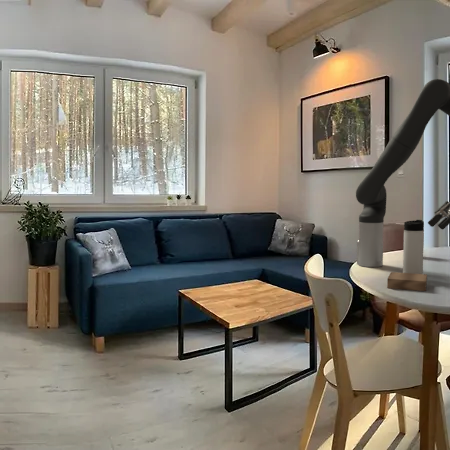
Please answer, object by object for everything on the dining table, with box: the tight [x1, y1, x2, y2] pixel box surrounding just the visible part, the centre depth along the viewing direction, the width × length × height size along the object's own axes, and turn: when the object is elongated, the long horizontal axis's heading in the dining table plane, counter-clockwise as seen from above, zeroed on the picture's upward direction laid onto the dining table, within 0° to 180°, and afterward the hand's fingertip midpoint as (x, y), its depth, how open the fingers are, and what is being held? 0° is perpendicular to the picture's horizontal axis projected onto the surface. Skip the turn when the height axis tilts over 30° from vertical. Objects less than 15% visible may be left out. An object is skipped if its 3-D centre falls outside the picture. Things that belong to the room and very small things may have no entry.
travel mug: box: [402, 219, 425, 274], centre depth 155 cm, size 6×7×20 cm
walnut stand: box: [386, 271, 428, 292], centre depth 146 cm, size 11×11×3 cm
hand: (434, 226), depth 154 cm, fingers open, 8 cm apart
